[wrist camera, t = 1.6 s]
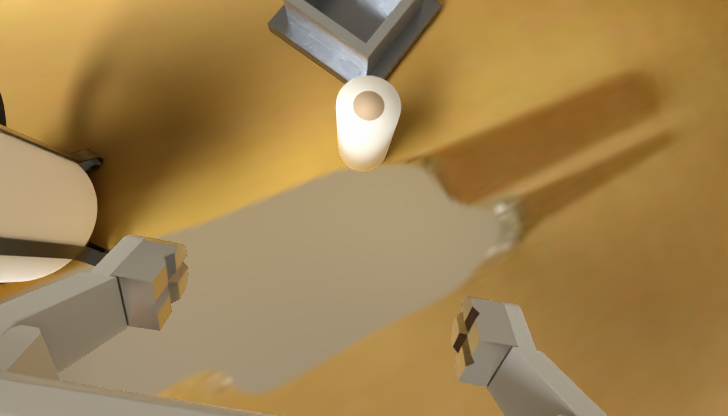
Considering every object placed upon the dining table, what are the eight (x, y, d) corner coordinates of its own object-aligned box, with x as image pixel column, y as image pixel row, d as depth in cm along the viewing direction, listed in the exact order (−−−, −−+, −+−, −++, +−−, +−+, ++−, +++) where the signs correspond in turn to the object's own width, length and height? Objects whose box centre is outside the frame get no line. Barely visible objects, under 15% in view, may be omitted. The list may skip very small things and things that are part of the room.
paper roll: (357, 115, 40) (361, 63, 30) (396, 143, 40) (414, 99, 30) (328, 152, 39) (322, 111, 29) (368, 181, 39) (376, 149, 29)
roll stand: (343, -54, 43) (342, -93, 39) (438, 11, 42) (449, -21, 38) (269, 30, 41) (260, -1, 37) (368, 100, 40) (371, 78, 36)
